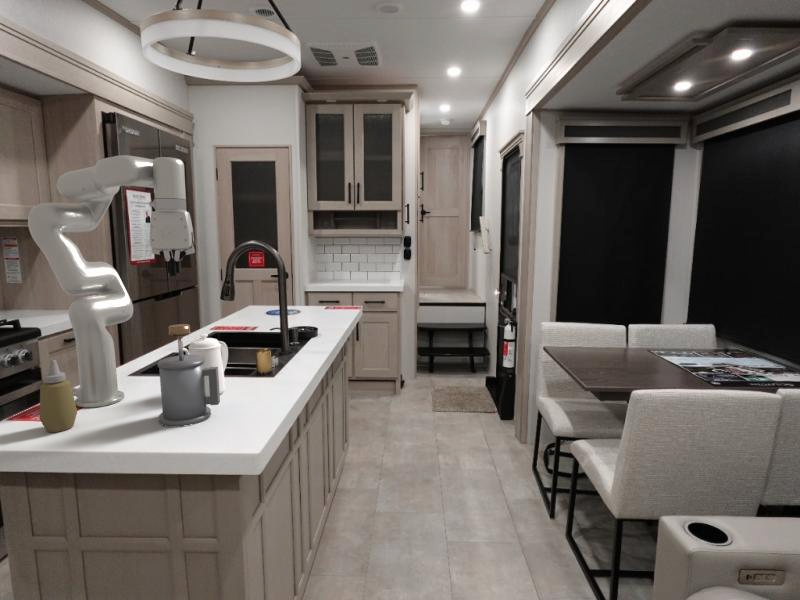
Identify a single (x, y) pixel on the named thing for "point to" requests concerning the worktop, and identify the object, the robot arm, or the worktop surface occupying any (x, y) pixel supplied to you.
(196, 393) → the press carafe
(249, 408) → the worktop surface
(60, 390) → the squeeze bottle
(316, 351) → the worktop surface
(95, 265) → the robot arm
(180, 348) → the plunger
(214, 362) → the coffeepot
